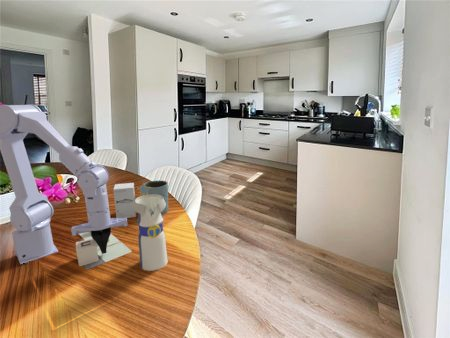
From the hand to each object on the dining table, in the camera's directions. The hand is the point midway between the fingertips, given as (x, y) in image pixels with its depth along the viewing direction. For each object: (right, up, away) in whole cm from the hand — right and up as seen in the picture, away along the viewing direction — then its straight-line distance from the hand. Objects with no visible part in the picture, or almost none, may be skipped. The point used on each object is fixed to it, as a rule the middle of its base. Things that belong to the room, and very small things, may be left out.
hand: (104, 251), depth 80 cm
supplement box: (-4, +6, +29) cm, 30 cm away
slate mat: (-3, -2, -2) cm, 4 cm away
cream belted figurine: (+16, -2, -3) cm, 17 cm away
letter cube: (-4, -2, -2) cm, 4 cm away
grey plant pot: (+8, +7, +33) cm, 34 cm away
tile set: (-4, +1, +8) cm, 9 cm away
